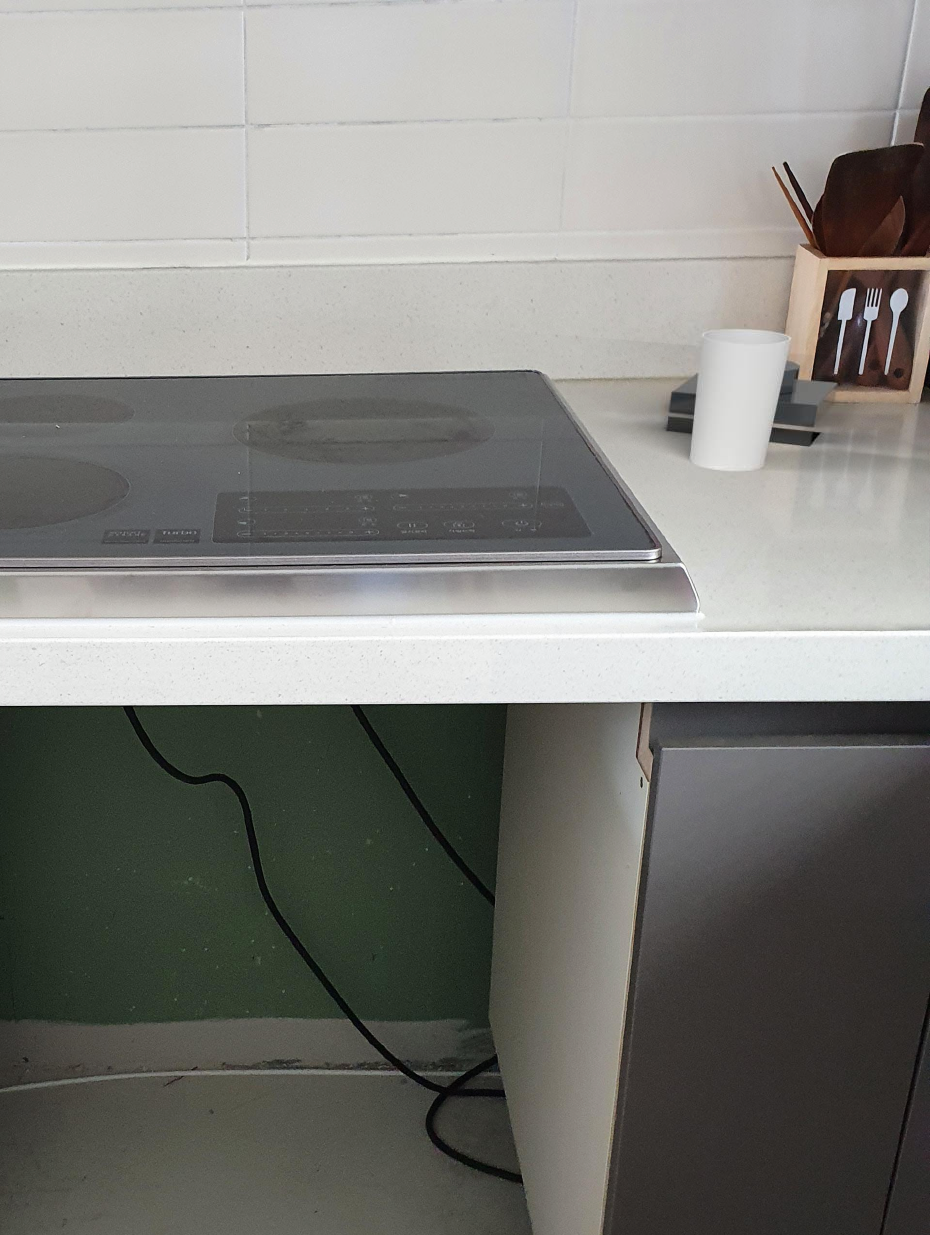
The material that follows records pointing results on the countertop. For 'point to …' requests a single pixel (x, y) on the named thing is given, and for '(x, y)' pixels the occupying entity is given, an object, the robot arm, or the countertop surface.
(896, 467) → the countertop surface
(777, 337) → the white cup
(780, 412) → the push button base
